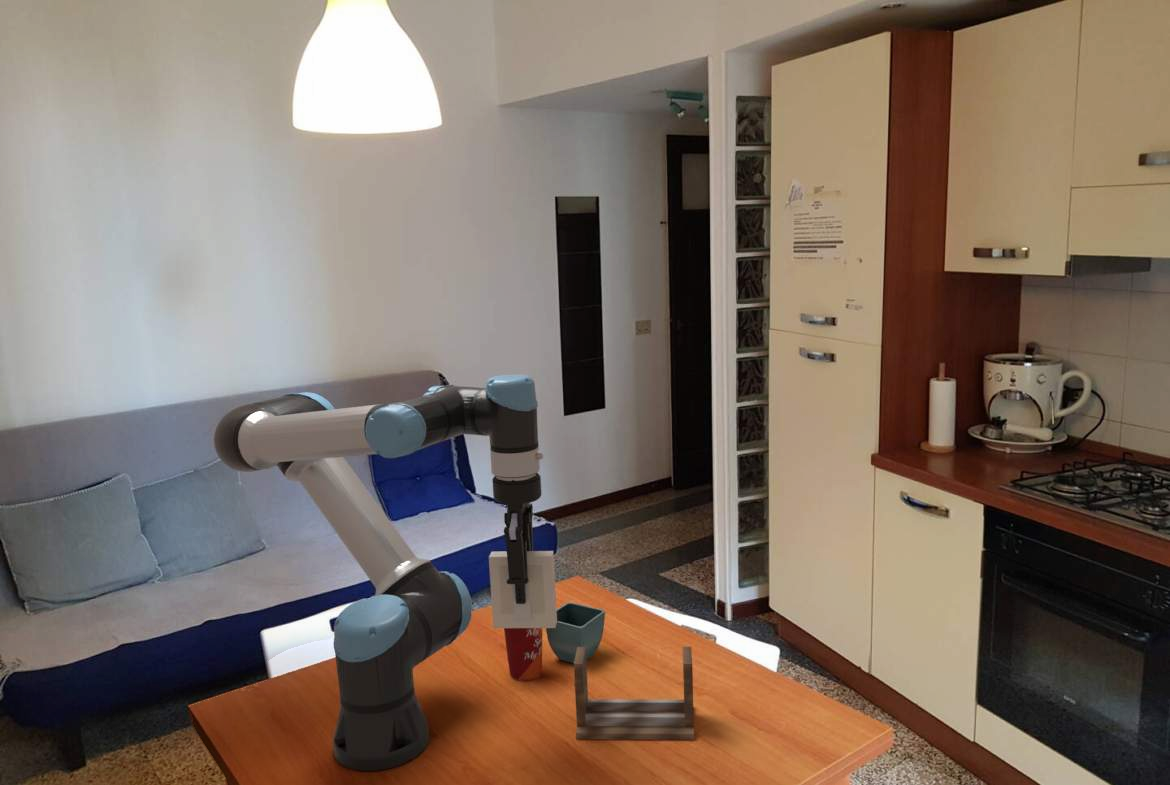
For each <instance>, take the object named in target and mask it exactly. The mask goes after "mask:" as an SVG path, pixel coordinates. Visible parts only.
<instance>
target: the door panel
mask: <svg viewBox="0 0 1170 785" xmlns="http://www.w3.org/2000/svg"><path fill="white" fill-rule="evenodd" d="M488 563H489V564H488V567H489V568H488V569H489V580H490V582H489V583H490V596H491V611H492V613H491V614H492V628H493V629H504V628H542V629H546V628H555V627H556V624H557V594H556V574H555V556H554V550H537V551H536V550H533V551H527V571H528V581H530V598H531V615H532V620H531V621H514V610H513V593H512V584H507V580H508V579H509V573H508V561H507V550H506V551H504V550H503V551H491V552H490V554H489V556H488Z"/></svg>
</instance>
